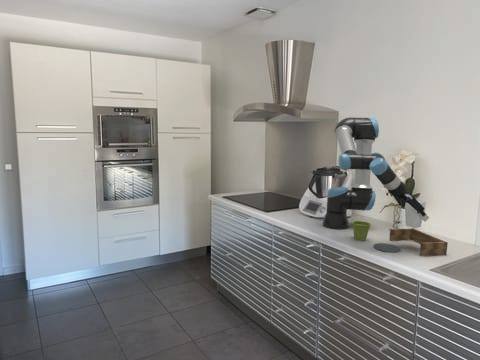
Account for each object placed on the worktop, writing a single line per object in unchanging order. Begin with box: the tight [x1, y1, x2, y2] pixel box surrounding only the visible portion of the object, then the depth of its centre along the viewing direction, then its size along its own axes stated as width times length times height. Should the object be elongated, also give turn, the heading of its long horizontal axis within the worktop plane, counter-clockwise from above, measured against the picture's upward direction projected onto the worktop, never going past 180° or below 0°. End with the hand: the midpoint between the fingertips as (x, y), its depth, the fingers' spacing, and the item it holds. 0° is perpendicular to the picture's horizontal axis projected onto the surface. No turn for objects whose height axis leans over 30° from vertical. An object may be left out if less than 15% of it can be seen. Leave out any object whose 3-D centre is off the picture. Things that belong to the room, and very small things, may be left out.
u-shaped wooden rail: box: [388, 227, 448, 257], centre depth 174 cm, size 14×24×6 cm, turn 11°
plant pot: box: [351, 220, 372, 241], centre depth 185 cm, size 9×9×9 cm
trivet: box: [373, 242, 401, 253], centre depth 171 cm, size 12×12×1 cm
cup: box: [404, 199, 427, 229], centre depth 172 cm, size 9×9×12 cm
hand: (419, 217), depth 173 cm, fingers closed on cup, 9 cm apart
